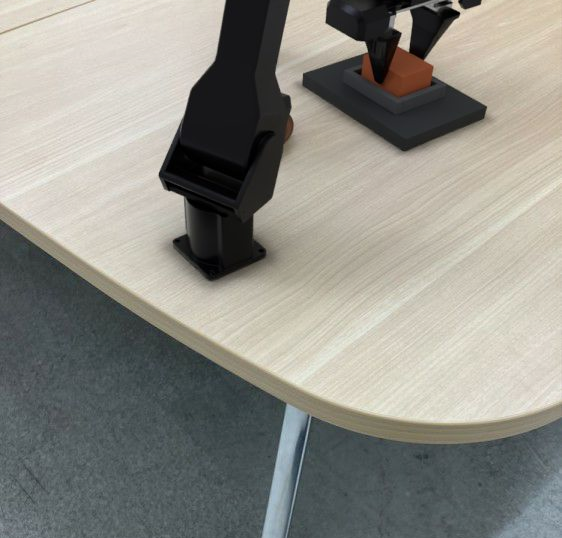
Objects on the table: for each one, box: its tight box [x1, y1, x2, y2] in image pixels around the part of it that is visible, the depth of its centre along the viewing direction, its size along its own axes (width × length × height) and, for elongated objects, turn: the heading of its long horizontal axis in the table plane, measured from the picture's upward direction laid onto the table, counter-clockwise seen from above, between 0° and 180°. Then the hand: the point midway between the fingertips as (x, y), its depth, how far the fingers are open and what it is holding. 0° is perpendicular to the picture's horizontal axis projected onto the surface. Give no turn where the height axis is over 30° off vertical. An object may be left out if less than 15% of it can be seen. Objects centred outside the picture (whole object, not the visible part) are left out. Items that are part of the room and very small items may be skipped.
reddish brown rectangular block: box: [361, 45, 435, 99], centre depth 91 cm, size 6×5×3 cm
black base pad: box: [301, 51, 488, 152], centre depth 93 cm, size 18×13×3 cm
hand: (395, 76), depth 91 cm, fingers closed on reddish brown rectangular block, 5 cm apart
